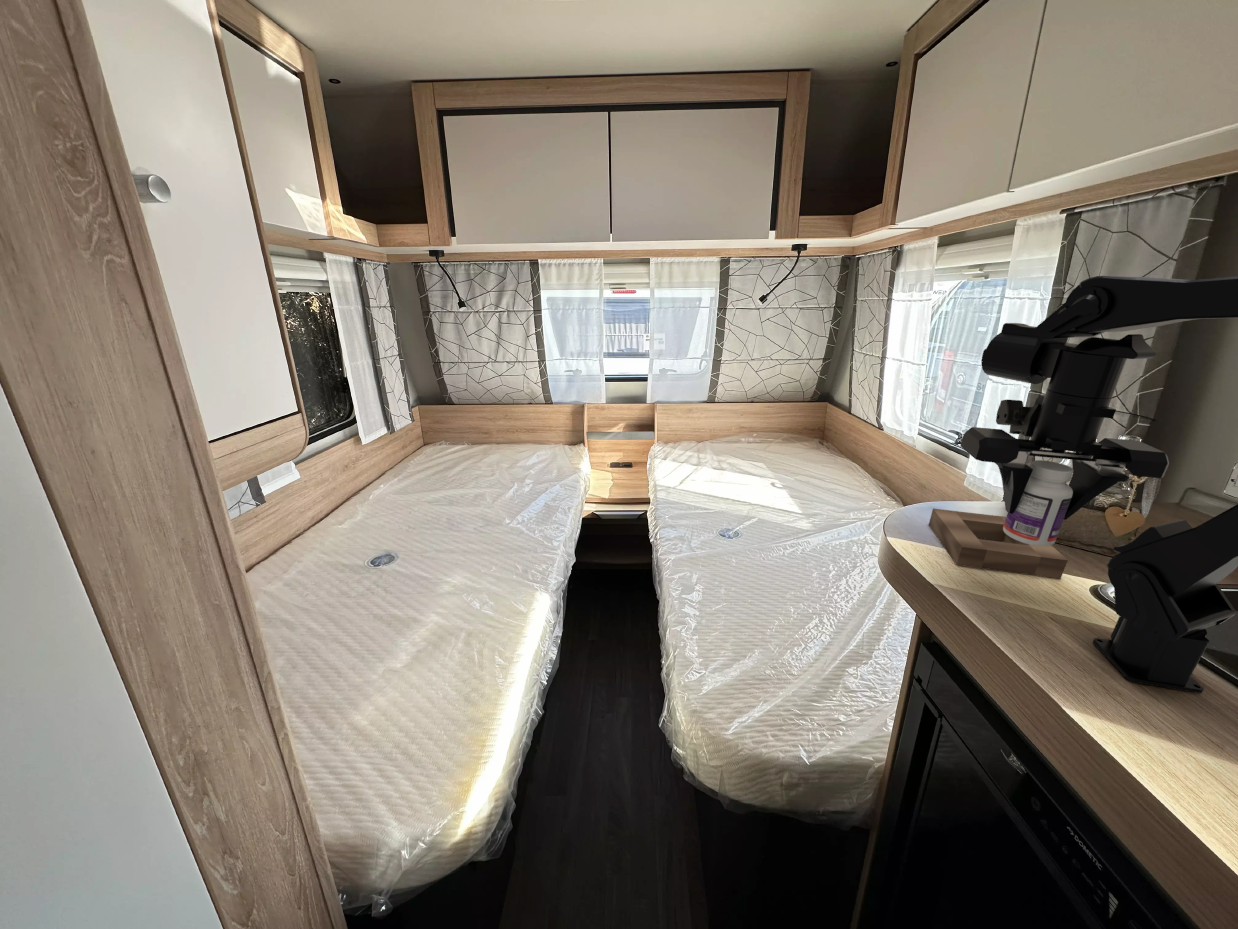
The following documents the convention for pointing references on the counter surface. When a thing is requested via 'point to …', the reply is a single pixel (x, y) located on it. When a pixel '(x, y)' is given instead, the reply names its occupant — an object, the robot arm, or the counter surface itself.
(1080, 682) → the counter surface
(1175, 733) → the counter surface
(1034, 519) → the pill bottle
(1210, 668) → the counter surface
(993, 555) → the walnut holder
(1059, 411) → the robot arm
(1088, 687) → the counter surface
